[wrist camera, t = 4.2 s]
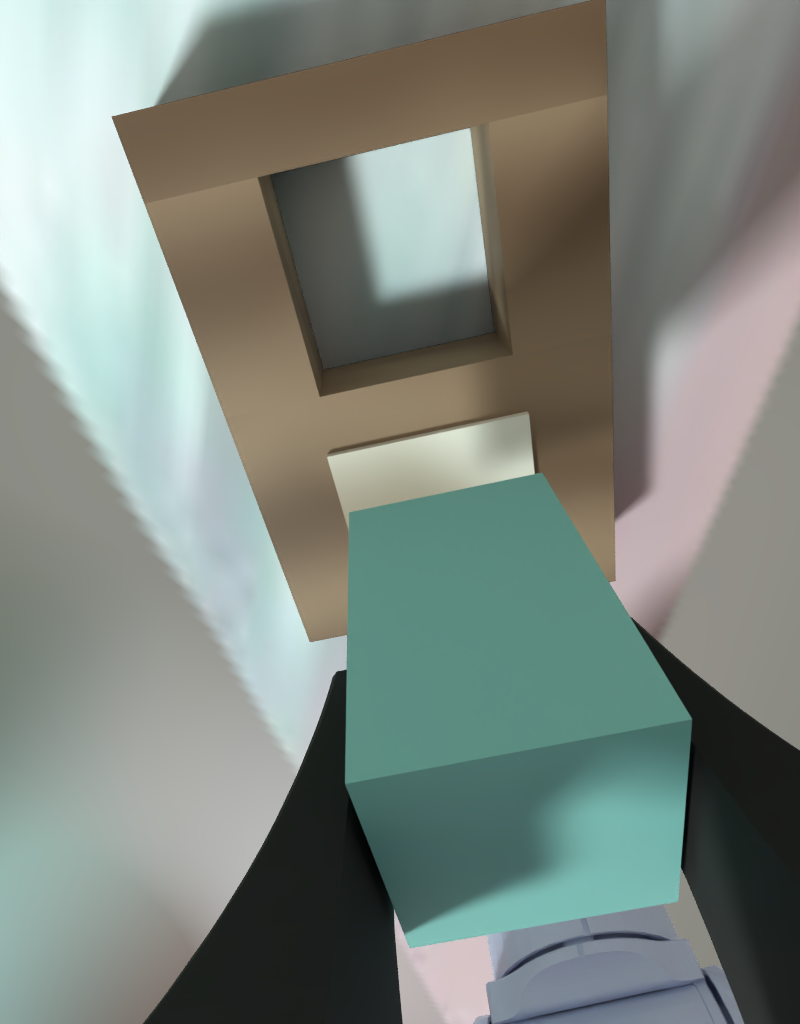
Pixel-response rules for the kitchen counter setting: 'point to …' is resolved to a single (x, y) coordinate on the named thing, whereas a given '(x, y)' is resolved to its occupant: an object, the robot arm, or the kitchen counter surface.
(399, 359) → the pocket plate
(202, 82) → the kitchen counter surface
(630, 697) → the teal block
